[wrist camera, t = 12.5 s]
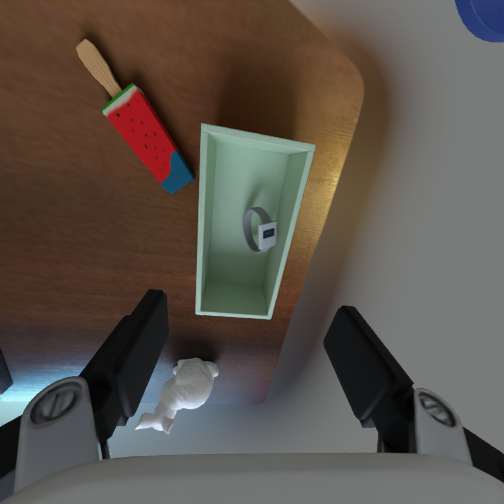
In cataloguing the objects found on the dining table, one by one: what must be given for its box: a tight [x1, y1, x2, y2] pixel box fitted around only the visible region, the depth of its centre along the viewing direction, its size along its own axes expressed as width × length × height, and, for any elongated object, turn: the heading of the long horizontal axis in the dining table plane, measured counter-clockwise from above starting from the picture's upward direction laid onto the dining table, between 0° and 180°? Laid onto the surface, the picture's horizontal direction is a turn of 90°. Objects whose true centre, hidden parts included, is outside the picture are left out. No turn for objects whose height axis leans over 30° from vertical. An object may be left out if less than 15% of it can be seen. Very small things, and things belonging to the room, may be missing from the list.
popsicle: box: [76, 39, 195, 194], centre depth 21 cm, size 5×2×15 cm
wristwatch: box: [243, 207, 277, 253], centre depth 24 cm, size 6×3×5 cm
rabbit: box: [135, 358, 219, 435], centre depth 34 cm, size 12×9×12 cm
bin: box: [196, 123, 316, 319], centre depth 24 cm, size 21×10×8 cm, turn 171°
